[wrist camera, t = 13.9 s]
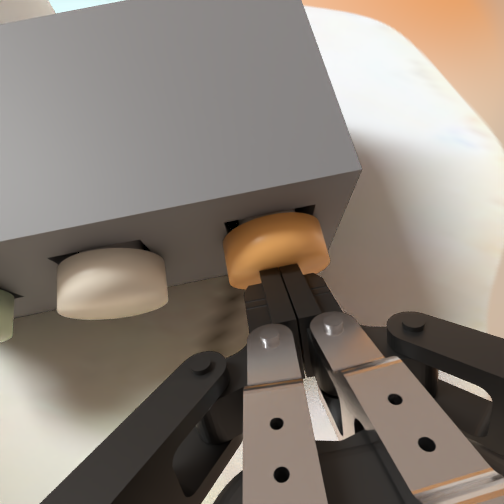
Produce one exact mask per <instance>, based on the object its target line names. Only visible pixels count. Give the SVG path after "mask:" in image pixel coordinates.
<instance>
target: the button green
mask: <svg viewBox="0 0 504 504" xmlns="http://www.w3.org/2000/svg"><path fill="white" fill-rule="evenodd" d="M13 317H14V296H13V295H12V294H11V293H9V292H7V291H4V290H1V289H0V343H1V342H4V341H6V340H8V339H10V338H11V337H12V336H13Z"/></svg>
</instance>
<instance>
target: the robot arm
mask: <svg viewBox="0 0 504 504" xmlns="http://www.w3.org/2000/svg"><path fill="white" fill-rule="evenodd" d="M259 273H260V279H261V283H260V284H255V285H250V286H248V287H247V289H246V291H245V293H244V298H245V305H246V312H247V319H248V326H249V336H248V338H247V345H246V346H245V347H244V348H243V349H242V350H241V351H239V352H238V353H236V354H234V355H232V356H230V357H228V358H226V359H225V358H224V357H223V355H221V354H220V353H217V352H213V351H206V352H201V353H197V354H195V355H193V356H191V357H189V358H188V359H187V360H186V361H184V362H183V363H182V364H181V365H180V366H179V367H178V368H177V369H176V370H175V371H174V372H173V373H172V374H171V375H170V376H169V377H168V378H167V379H166V380H165V381H164V382H163V383H162V384H161V385H160V386H159V387H158V388H157V389H156V390H155V391H154V392H153V393H152V394H151V395H150V396H149V397H148V398H147V399H146V400H145V401H144V402H143V403H142V404H141V405H140V406H139V407H138V408H137V409H136V410H134V411H133V412H132V413H131V414H130V415H129V416H128V417H127V418H126V419H125V420H124V421H123V422H122V423H121V424H120V425H119V426H118V427H117V428H116V429H115V430H114V431H113V432H112V433H111V434H110V435H109V436H108V437H107V438H106V439H105V440H104V441H103V442H102V443H101V444H100V445H99V446H98V447H97V448H96V449H95V450H94V451H93V452H92V453H91V454H90V455H89V456H88V457H87V458H86V459H85V460H84V461H83V462H82V463H81V464H80V465H79V466H78V467H77V468H76V469H74V470H73V471H72V472H71V473H70V474H69V475H68V476H67V477H66V478H65V479H64V480H63V481H62V482H61V483H60V484H59V485H58V486H57V487H56V488H55V489H54V490H53V491H52V492H51V493H50V494H49V495H48V496H47V497H46V498H45V499H44V500H43V501H42V502H41V503H40V504H201V503H202V501H203V500H204V498H205V497H206V495H207V494H208V492H209V491H210V489H211V488H212V486H213V485H214V483H215V482H216V480H217V479H218V477H219V476H220V474H221V473H222V471H223V470H224V468H225V467H226V465H227V464H228V462H229V461H230V459H231V458H232V456H233V455H234V453H235V452H236V450H237V449H238V447H239V446H240V444H241V443H242V441H243V470H242V471H241V472H240V473H239V474H237V475H236V476H235V477H234V478H233V479H232V480H231V481H230V482H229V483H228V484H227V485H226V486H225V488H224V489H223V490H222V491H221V493H220V494H219V495H218V497H217V498H216V500H215V501H214V503H213V504H504V339H503V338H500V337H496V336H493V335H490V334H487V333H484V332H481V331H477V330H474V329H471V328H468V327H464V326H461V325H458V324H455V323H452V322H448V321H445V320H442V319H439V318H436V317H432V316H429V315H426V314H422V313H418V312H401V313H397V314H395V315H393V316H391V317H390V318H389V319H388V321H387V327H369V326H362V325H359V324H358V323H357V321H356V320H355V319H354V318H353V317H352V316H350V315H349V314H346V313H343V312H342V310H341V308H340V307H339V305H338V303H337V302H336V300H335V298H334V297H333V295H332V293H331V292H330V290H329V288H328V287H327V285H326V283H325V281H324V280H323V278H322V277H320V276H318V275H316V274H315V273H309V274H304V275H303V274H302V272H301V270H300V268H299V265H298V264H297V263H296V264H291V265H286V266H281V267H279V270H278V267H276V268H271V269H266V270H261V271H259ZM304 370H305V373H306V376H307V378H308V377H313V376H315V378H316V381H317V385H318V392H319V397H320V399H321V402H322V404H323V406H324V408H325V411H326V413H327V415H328V417H329V420H330V422H331V424H332V426H333V428H334V431H335V433H336V435H337V437H338V440H339V441H316V440H315V438H314V433H313V428H312V423H311V418H310V413H309V408H308V403H307V398H306V394H305V389H304V384H303V378H305V374H304ZM438 370H441V371H443V372H446V373H448V374H451V375H453V376H455V377H458V378H460V379H463V380H465V381H468V382H470V383H473V384H475V385H477V386H479V387H481V388H483V389H484V390H485V391H486V392H487V393H488V394H489V395H490V396H491V398H492V401H493V402H492V401H489V400H486V399H484V398H482V397H479V396H477V395H475V394H472V393H470V392H468V391H465V390H463V389H460V388H458V387H456V386H453V385H451V384H449V383H446V382H444V381H442V380H439V379H438Z"/></svg>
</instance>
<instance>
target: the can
mask: <svg viewBox="0 0 504 504" xmlns="http://www.w3.org/2000/svg"><path fill="white" fill-rule="evenodd" d="M51 14H56V13H55V11H54V9H53V8H52V6H51V4H50V3H49V1H48V0H0V24H4V23H9V22H15V21H20V20H25V19H30V18H36V17H41V16H46V15H51Z"/></svg>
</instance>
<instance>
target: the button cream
mask: <svg viewBox="0 0 504 504" xmlns="http://www.w3.org/2000/svg"><path fill="white" fill-rule="evenodd" d="M168 300H169V299H168V290H167V281H166V272H165V263H164V260H163V258H162V257H160V256H159V255H157V254H155V253H153V252H149V251H146V250H143V242H142V241H141V240H135V241H130V242H125V243H120V244H115V245H110V246H105V247H100V248H95V249H90V250H85V251H80V253H79V254H75V255H73V256H70V257H68V258H66V259H65V260H63V261H62V262H61V263H60V264H59V265H58V267H57V312H58V313H59V314H60V315H62V316H64V317H68V318H73V319H83V320H103V319H115V318H123V317H130V316H135V315H139V314H143V313H147V312H150V311H153V310H156V309H158V308H160V307H162V306H164V305H165V304H166V303H167V302H168Z"/></svg>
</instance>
